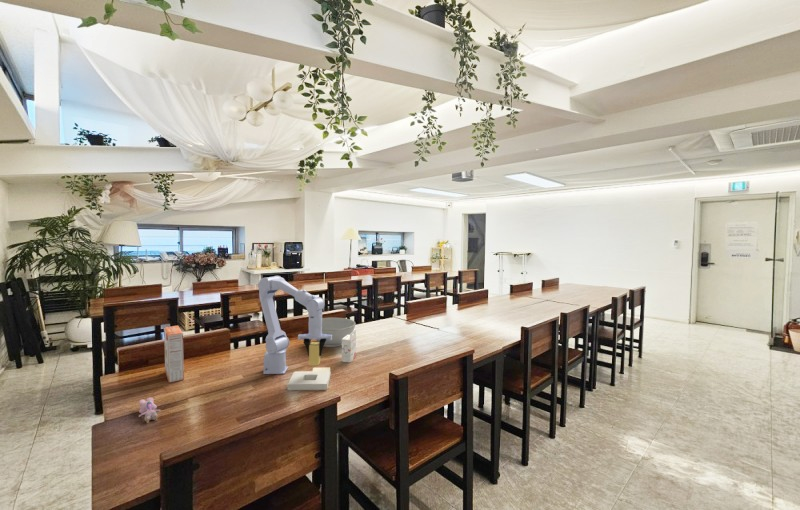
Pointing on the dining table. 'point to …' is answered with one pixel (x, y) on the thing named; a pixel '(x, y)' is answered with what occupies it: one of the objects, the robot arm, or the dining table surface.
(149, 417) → the pink toy figurine
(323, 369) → the mat
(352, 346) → the ink cartridge box
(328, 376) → the holder
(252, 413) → the dining table surface
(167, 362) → the cracker box
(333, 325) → the decorative bowl
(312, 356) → the block
